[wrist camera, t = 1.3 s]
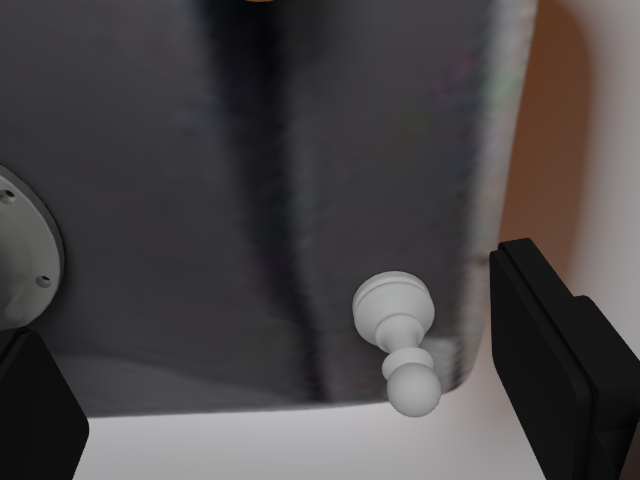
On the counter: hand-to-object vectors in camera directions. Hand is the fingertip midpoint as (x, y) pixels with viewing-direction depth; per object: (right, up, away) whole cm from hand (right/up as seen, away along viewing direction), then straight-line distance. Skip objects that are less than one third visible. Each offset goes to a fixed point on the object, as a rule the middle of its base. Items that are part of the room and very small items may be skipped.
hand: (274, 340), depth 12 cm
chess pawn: (+5, -2, +25) cm, 25 cm away
